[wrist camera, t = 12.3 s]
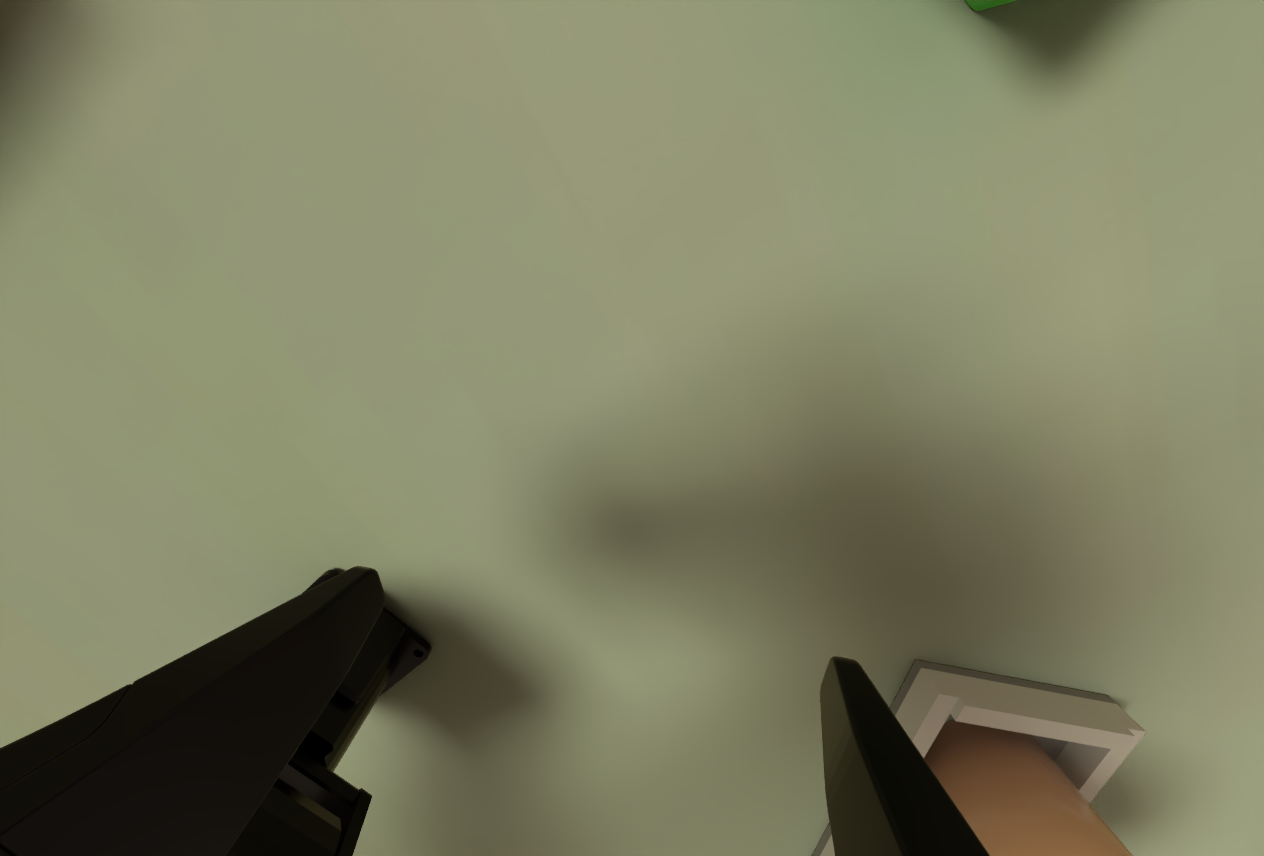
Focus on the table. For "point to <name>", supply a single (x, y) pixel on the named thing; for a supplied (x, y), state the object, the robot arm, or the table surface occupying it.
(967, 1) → the fruit basket
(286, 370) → the table surface
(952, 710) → the lane
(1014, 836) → the jar
